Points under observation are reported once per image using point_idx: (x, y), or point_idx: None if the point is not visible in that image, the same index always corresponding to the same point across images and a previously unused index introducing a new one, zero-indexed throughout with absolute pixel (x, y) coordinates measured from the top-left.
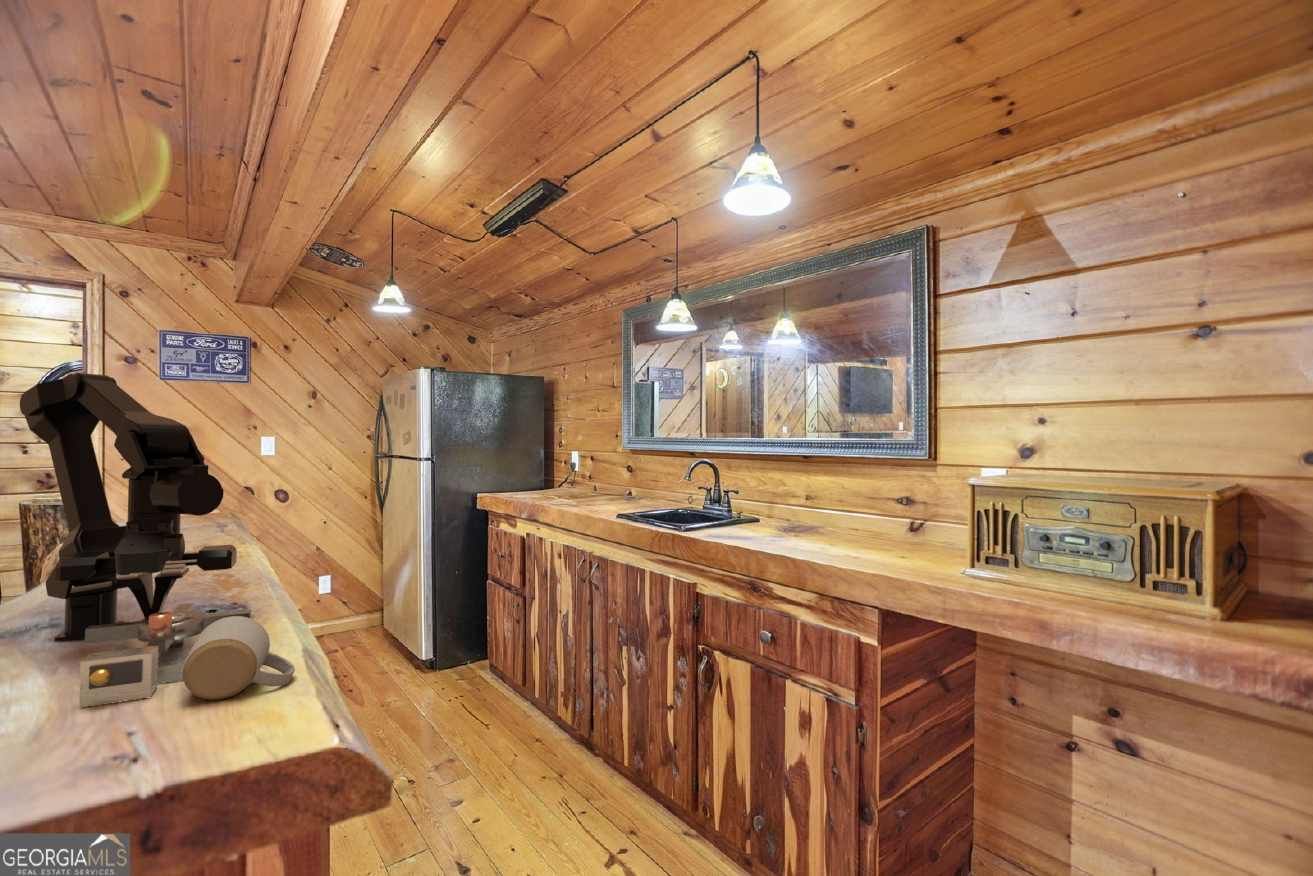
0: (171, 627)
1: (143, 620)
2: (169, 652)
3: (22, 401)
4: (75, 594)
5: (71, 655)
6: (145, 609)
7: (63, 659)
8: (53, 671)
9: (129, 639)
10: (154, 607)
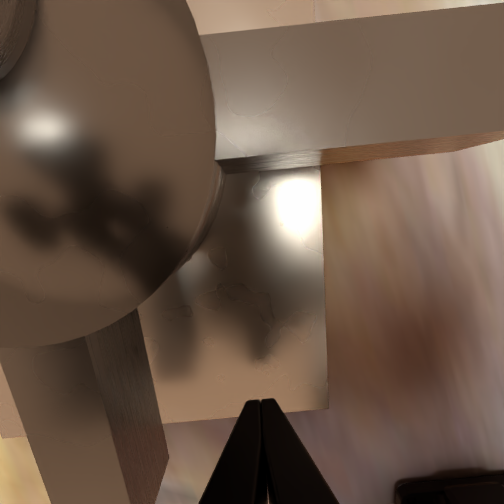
0: None
1: (193, 138)
2: None
3: None
4: None
5: (452, 337)
6: (293, 469)
7: (463, 305)
8: (462, 187)
9: (310, 312)
10: (241, 481)
